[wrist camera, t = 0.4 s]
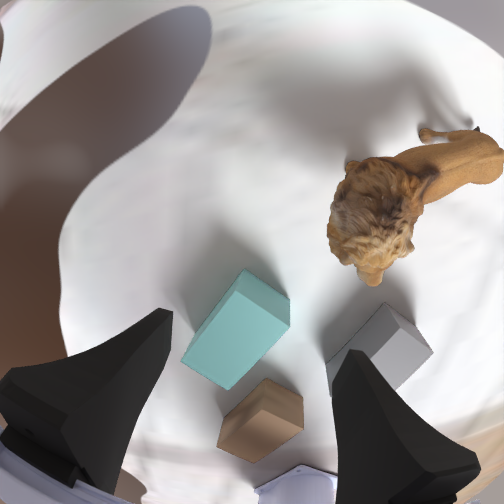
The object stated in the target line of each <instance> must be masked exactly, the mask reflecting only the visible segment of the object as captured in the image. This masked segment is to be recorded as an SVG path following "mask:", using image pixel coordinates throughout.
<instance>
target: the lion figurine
mask: <svg viewBox="0 0 504 504" xmlns="http://www.w3.org/2000/svg"><path fill="white" fill-rule="evenodd" d="M419 136H420V139H421V142H422V143H423V144H426V145H424V146H418V147H414V148H411V149H408V150H406V151H403V152H401V153H400V154H398V155H396V156H395V157H371V158H368V159H365V160H363V161H362V162H357V161H351V162H349V163H348V164H347V166H346V175H345V179H344V180H343V181H342V182H340V183H339V184H338V186H337V191H336V192H335V195H334V201H333V202H332V204H331V206H330V209H331V215H330V217H329V223H328V224H327V237H328V238H329V246H330V248H331V253H333V254H334V255H335V256H336V257H337V258H338V259H339V260H340V263H341V264H343V265H350V264H354V265H355V267H357V275H358V277H359V278H360V279H361V280H362V281H364V282H365V283H366V284H367V285H368V286H378V285H379V284H380V283H381V282H382V277H383V274H384V270H386V269H387V268H388V267H389V266H391V265H392V264H393V262H394V261H395V260H396V259H397V258H404V257H406V256H407V255H408V254H409V253H411V252H412V251H413V250H414V249H415V248H414V245H413V244H412V242H411V241H410V240H411V238H412V236H413V228H414V224H415V222H417V219H418V217H419V216H420V215H422V214H423V208H424V204H428V203H431V202H434V201H437V200H439V199H441V198H443V197H444V196H446V195H448V194H450V193H452V192H453V191H454V190H456V189H458V188H459V187H461V186H463V185H465V184H467V183H470V182H471V183H474V184H489V183H492V182H493V181H495V180H496V179H497V178H499V177H500V176H501V174H502V172H503V163H504V150H503V149H502V148H499V146H498V144H497V142H496V141H495V140H494V139H493V138H491V137H490V136H489V135H486V134H484V133H481V132H480V128H479V126H477V128H475V129H474V130H458V131H452V132H449V133H448V132H436V131H433V130H430V129H426V128H424V129H421V131H420V133H419ZM435 143H438V144H435Z"/></svg>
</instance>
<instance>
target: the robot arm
mask: <svg viewBox="0 0 504 504" xmlns="http://www.w3.org/2000/svg"><path fill="white" fill-rule="evenodd" d="M172 321H173V311H169V310H166V309H162V308H158V309H156V310H154V311H153V312H151V313H150V314H149V315H147V316H146V317H144V318H143V319H141V320H140V321H138V322H137V323H136V324H134V325H132V326H131V327H129V328H128V329H126V330H125V331H123V332H122V333H120V334H118V335H116V336H115V337H113V338H111V339H109V340H108V341H106V342H104V343H102V344H100V345H98V346H96V347H94V348H91V349H89V350H87V351H84V352H82V353H79V354H76V355H73V356H70V357H67V358H64V359H61V360H57V361H53V362H49V363H44V364H39V365H33V366H25V367H16V368H11V369H10V370H9V371H8V373H7V374H6V375H5V376H4V377H3V378H2V379H1V380H0V413H1V414H2V416H3V417H4V419H5V421H6V422H7V423H8V426H7V427H6V428H5V430H4V429H3V428H2V427H1V426H0V499H1V500H3V501H4V502H5V503H7V504H133V503H131V502H128V501H126V500H123V499H120V498H118V497H115V496H114V491H115V487H116V484H117V480H118V476H119V473H120V469H121V466H122V463H123V459H124V456H125V453H126V450H127V447H128V444H129V441H130V438H131V436H132V433H133V430H134V427H135V425H136V422H137V419H138V417H139V415H140V413H141V411H142V408H143V407H144V405H145V403H146V401H147V399H148V397H149V395H150V393H151V392H152V390H153V388H154V386H155V384H156V382H157V380H158V378H159V377H160V375H161V373H162V371H163V369H164V366H165V364H166V361H167V358H168V356H169V353H170V350H171V336H172ZM332 408H333V416H334V423H335V431H336V439H337V446H338V476H335V475H332V474H329V473H325V472H322V471H319V470H316V469H313V468H311V467H308V466H305V465H299V466H297V467H295V468H294V469H292V470H290V471H289V472H287V473H285V474H283V475H281V476H280V477H278V478H276V479H274V480H272V481H270V482H268V483H267V484H265V485H263V486H261V487H259V488H257V489H255V490H254V493H256V494H258V495H259V501H258V504H334V490H335V489H337V493H336V502H335V504H453V503H454V502H456V501H457V496H456V493H457V492H459V491H460V490H461V489H463V488H464V487H465V486H467V485H468V484H469V483H470V482H472V481H473V480H474V479H475V478H476V477H477V476H478V475H479V473H480V471H481V467H480V464H479V461H478V458H477V456H476V453H475V452H473V451H471V450H469V449H467V448H465V447H463V446H461V445H459V444H457V443H455V442H454V441H452V440H450V439H449V438H447V437H446V436H444V435H443V434H441V433H440V432H438V431H437V430H436V429H434V428H433V427H432V426H430V425H429V424H428V423H427V422H425V421H424V420H423V419H422V418H421V417H420V416H419V415H418V414H416V413H415V412H414V411H413V410H412V409H411V408H410V407H409V406H408V405H407V404H406V403H405V402H404V401H403V399H402V398H401V397H400V396H399V395H398V394H397V393H396V392H395V390H394V389H393V388H392V387H391V386H390V384H389V383H388V382H387V381H386V379H385V378H384V377H383V376H382V374H381V373H380V372H379V370H378V369H377V368H376V367H375V365H374V364H373V363H372V361H371V360H370V359H369V358H368V356H367V355H366V354H365V353H364V352H363V351H361V350H354V349H349V351H348V353H347V355H346V357H345V359H344V361H343V363H342V364H341V366H340V368H339V370H338V372H337V374H336V376H335V378H334V380H333V382H332ZM466 504H481V503H480V500H478V499H477V500H474V501H471V502H469V503H466Z"/></svg>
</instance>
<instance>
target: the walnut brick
mask: <svg viewBox="0 0 504 504" xmlns="http://www.w3.org/2000/svg"><path fill="white" fill-rule="evenodd" d="M303 429H304V413H303V397H301V396H299V395H297V394H296V393H294V392H292V391H290V390H288V389H286V388H284V387H282V386H280V385H279V384H277V383H275V382H273V381H271V380H269V379H268V378H265V379H264V380H263V381H262V382H261V383H260V384H259V385H258V386H257V387H256V388H255V389H254V390H253V391H252V392H251V393H250V394H249V395H248V396H247V397H246V398H245V399H244V400H243V401H242V402H241V403H239V404H238V405H237V406H236V407H235V408H234V409H233V410H232V411H231V412H230V413H229V414H228V415H226V416H225V417H224V420H223V423H222V427H221V431H220V435H219V439H218V442H217V446H216V447H218V448H220V449H222V450H224V451H226V452H228V453H231V454H233V455H235V456H237V457H240V458H242V459H244V460H247V461H249V462H252V463H255V462H257V461H259V460H260V459H262V458H263V457H265V456H266V455H268V454H269V453H271V452H272V451H274V450H275V449H277V448H278V447H280V446H281V445H282V444H284V443H285V442H287V441H288V440H289V439H291V438H292V437H294V436H295V435H296V434H298V433H299V432H300V431H302V430H303Z"/></svg>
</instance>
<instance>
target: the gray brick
mask: <svg viewBox="0 0 504 504" xmlns="http://www.w3.org/2000/svg"><path fill="white" fill-rule="evenodd" d="M349 349H354V350H361V351H363V352H364V353H365V354H366V355H367V356H368V358H369V359H370V360H371V361H372V363H373V364H374V365H375V367H376V368H377V369H378V370H379V372H380V373H381V374H382V376H383V377H384V378H385V379H386V381H387V382H388V383H389V384H390V386H391V387H392V388H393V389H394V390H396V389H397V388H398V387H400V386H401V385H402V384H403V383H404V382H405V381H406V380H407V379H408V378H409V377H410V376H411V375H412V374H413V373H414V372H415V371H416V370H417V369H418V368H419V367H420V366H421V365H422V364H423V363H424V362H425V361H426V360H427V359H428V358H429V357H430V356H431V355H432V354H433V351H432V349H431V348H430V346H429V345H428V343H427V342H426V340H425V339H424V337H423V336H422V335H421V333H420V332H419V330H418V329H417V327H416V326H415V325H413V324H412V323H411V322H410V321H408V320H407V319H406V318H404V317H403V316H402V315H401V314H399V313H398V312H397V311H395V310H394V309H393V308H392V307H390V306H389V305H388V304H386V303H385V302H384V303H383V304H382V306H381V307H380V308H379V309H378V310H377V311H376V312H375V314H374V315H373V316H372V317H371V318H370V319H369V320H368V321H367V322H366V324H365V325H364V326H363V327H362V328H361V329H360V330H359V331H358V332H357V333H356V334H355V335H354V336H353V338H352V339H351V340H350V341H349V342H348V343H347V344H346V345H345V346H344V347H343V348H342V349H341V350H340V351H339V352H338V353H337V354H336V355H335V356H334V357H333V358H332V359H331V360H330V361H329V362H328V363H327V364H326V372H327V379H328V386H329V393H330V397H332V382H333V380H334V378H335V376H336V374H337V372H338V370H339V368H340V366H341V364H342V363H343V361H344V359H345V357H346V355H347V353H348V351H349Z"/></svg>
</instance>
